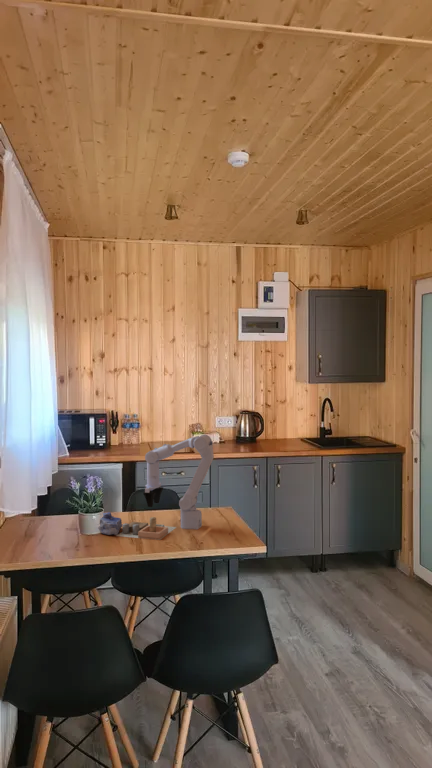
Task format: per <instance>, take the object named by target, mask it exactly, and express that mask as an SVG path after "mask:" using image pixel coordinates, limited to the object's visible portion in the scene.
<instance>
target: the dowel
mask: <svg viewBox="0 0 432 768" xmlns="http://www.w3.org/2000/svg"><path fill="white" fill-rule="evenodd" d="M156 524H157V517H154V516H152V517H149V525H150V532H156Z"/></svg>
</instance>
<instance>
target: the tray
mask: <svg viewBox="0 0 432 768" xmlns="http://www.w3.org/2000/svg"><path fill="white" fill-rule="evenodd" d="M167 533H168V527H159V526H156V532H150V526H146V527H145V528H143V529H142V530H140V531H139V532H138V538H137V539H144V538H150V539H149V540H156V539H161V538H162V537H163V536H165V535H166V534H167ZM167 535H168V534H167ZM167 535H166V536H167ZM166 536H165V537H166ZM163 538H164V537H163ZM163 538H162V539H163ZM162 539H161V540H162Z"/></svg>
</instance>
